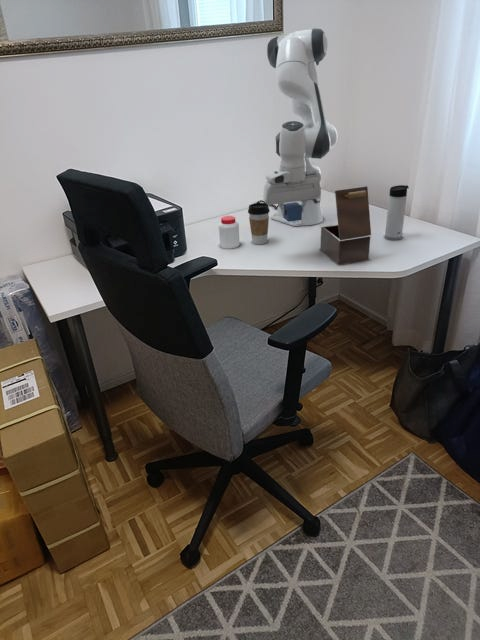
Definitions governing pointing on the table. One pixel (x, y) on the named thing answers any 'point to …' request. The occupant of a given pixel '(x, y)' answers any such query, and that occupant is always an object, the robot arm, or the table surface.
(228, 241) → the pill bottle
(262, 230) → the coffee cup
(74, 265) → the table surface
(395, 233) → the travel mug
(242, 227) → the table surface
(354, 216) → the lid
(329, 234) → the chest
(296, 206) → the block
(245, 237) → the table surface
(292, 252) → the table surface
